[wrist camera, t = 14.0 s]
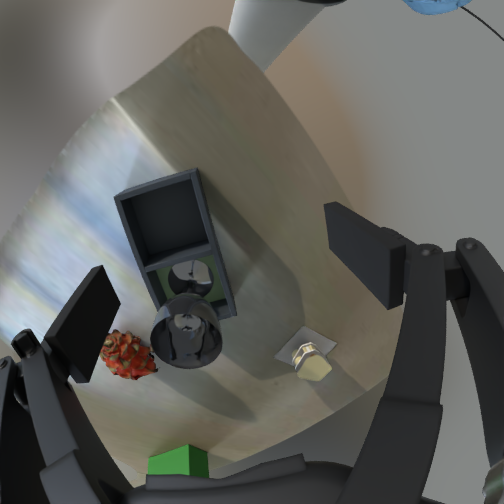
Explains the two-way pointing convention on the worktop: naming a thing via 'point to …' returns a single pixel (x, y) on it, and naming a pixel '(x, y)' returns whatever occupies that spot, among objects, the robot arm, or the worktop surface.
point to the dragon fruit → (127, 356)
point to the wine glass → (187, 319)
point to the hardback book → (180, 462)
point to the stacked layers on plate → (307, 354)
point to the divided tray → (173, 235)
